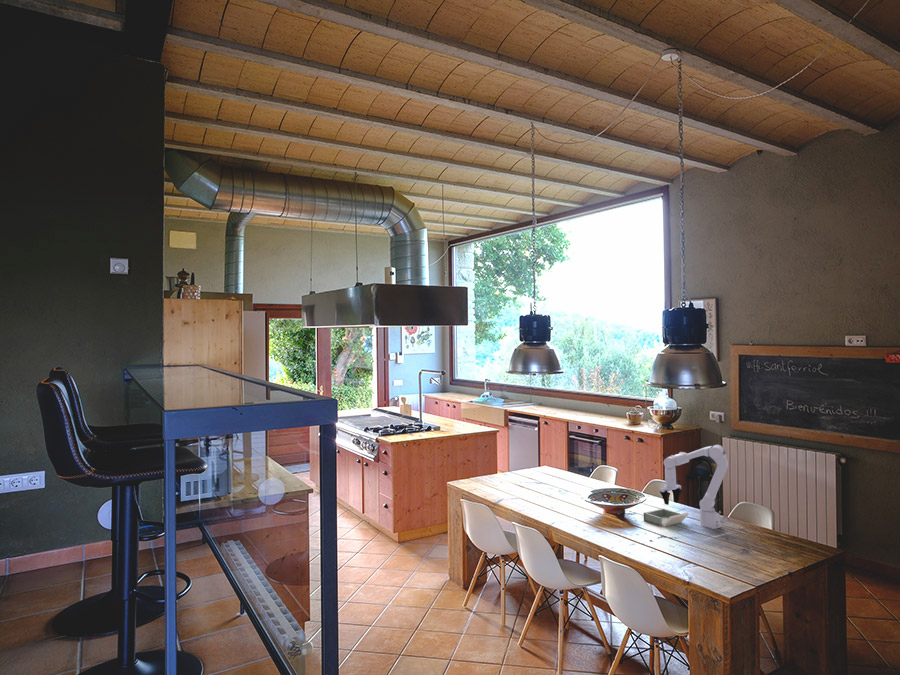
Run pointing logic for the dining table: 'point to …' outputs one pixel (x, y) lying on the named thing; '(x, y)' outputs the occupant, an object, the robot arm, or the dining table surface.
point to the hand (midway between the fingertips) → (671, 503)
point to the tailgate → (675, 519)
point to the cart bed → (658, 516)
